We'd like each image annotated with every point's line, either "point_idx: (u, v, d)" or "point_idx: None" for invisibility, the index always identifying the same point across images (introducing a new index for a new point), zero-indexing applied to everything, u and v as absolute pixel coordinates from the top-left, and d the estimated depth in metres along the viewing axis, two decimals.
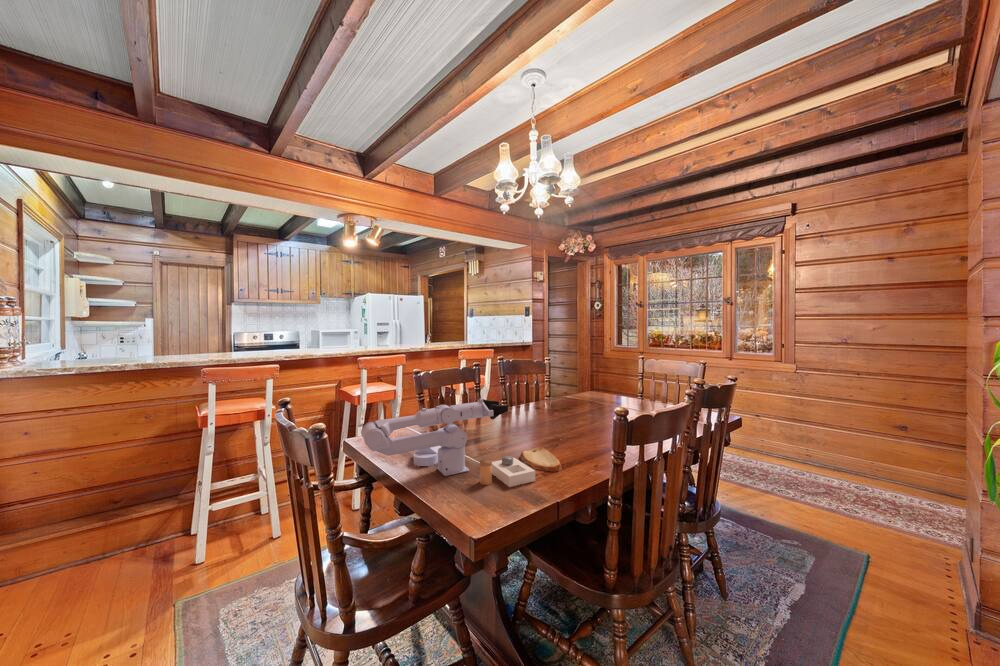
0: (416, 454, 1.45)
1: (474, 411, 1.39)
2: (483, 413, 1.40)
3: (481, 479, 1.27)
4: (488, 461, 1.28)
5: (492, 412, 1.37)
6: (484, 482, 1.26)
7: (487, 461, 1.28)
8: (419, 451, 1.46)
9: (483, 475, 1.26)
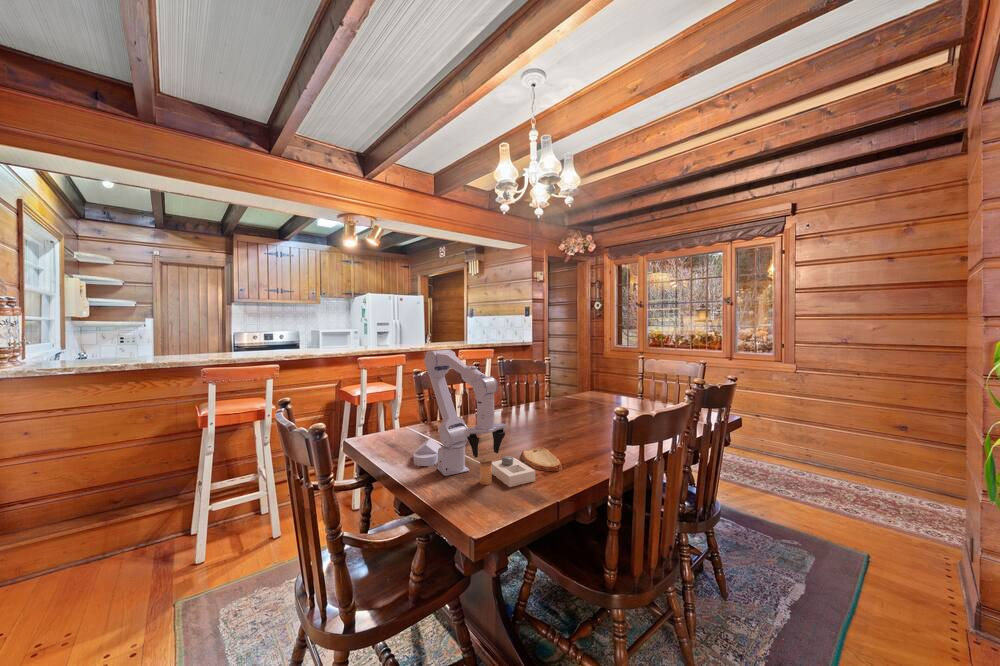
0: (416, 454, 1.45)
1: (478, 417, 1.26)
2: (477, 427, 1.27)
3: (481, 479, 1.27)
4: (488, 461, 1.28)
5: (465, 434, 1.24)
6: (484, 482, 1.26)
7: (487, 461, 1.28)
8: (419, 451, 1.46)
9: (483, 475, 1.26)
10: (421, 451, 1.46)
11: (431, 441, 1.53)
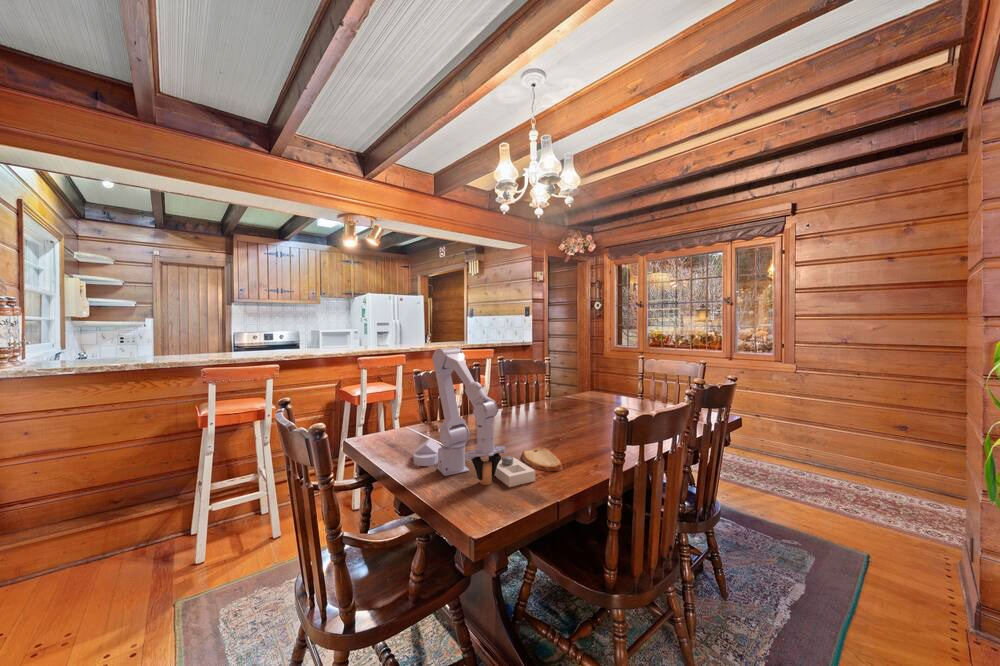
0: (416, 454, 1.45)
1: (478, 441, 1.26)
2: (477, 450, 1.27)
3: None
4: (488, 461, 1.28)
5: (466, 458, 1.24)
6: (484, 482, 1.26)
7: (487, 461, 1.28)
8: (419, 451, 1.46)
9: (483, 475, 1.26)
10: (421, 451, 1.46)
11: (431, 441, 1.53)
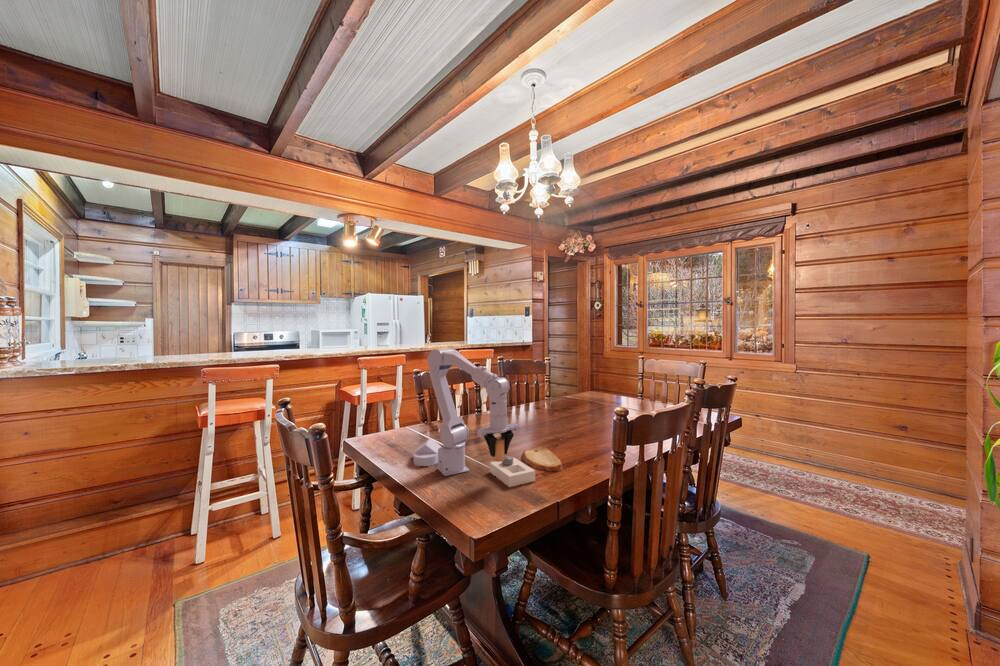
0: (416, 454, 1.45)
1: (491, 417, 1.27)
2: (489, 427, 1.28)
3: None
4: (500, 438, 1.29)
5: (479, 435, 1.25)
6: (497, 459, 1.27)
7: (500, 438, 1.29)
8: (419, 451, 1.46)
9: (495, 452, 1.27)
10: (421, 451, 1.46)
11: (431, 441, 1.53)
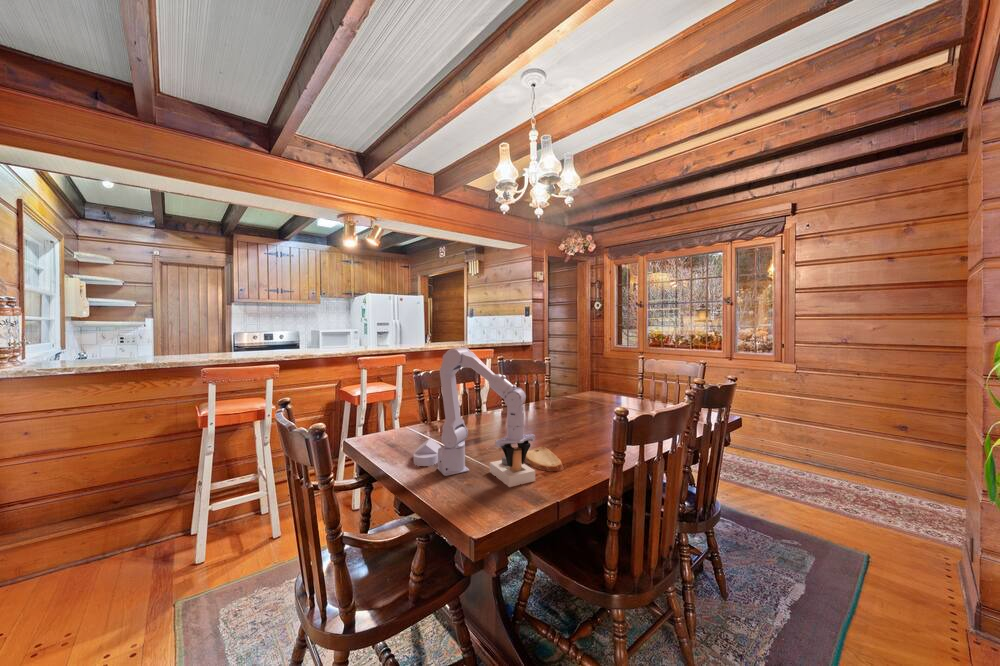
0: (416, 454, 1.45)
1: (508, 428, 1.29)
2: (507, 437, 1.30)
3: (512, 466, 1.29)
4: (518, 448, 1.30)
5: (497, 445, 1.27)
6: (515, 469, 1.29)
7: (517, 448, 1.31)
8: (419, 451, 1.46)
9: (513, 462, 1.29)
10: (421, 451, 1.46)
11: (431, 441, 1.53)
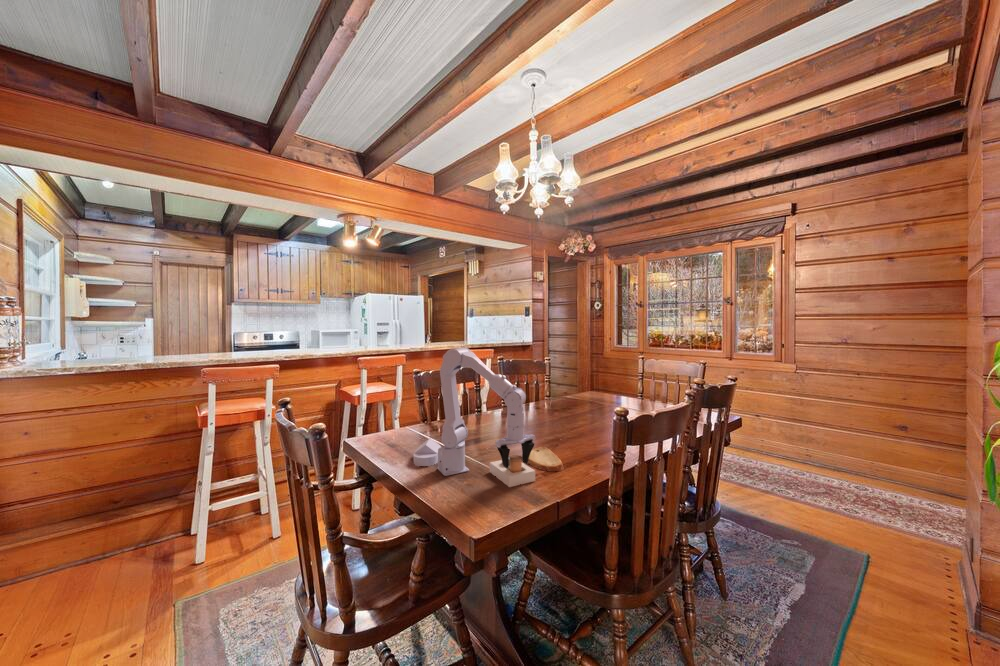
0: (416, 454, 1.45)
1: (508, 428, 1.29)
2: (507, 438, 1.30)
3: None
4: (518, 457, 1.31)
5: (497, 446, 1.27)
6: None
7: (517, 456, 1.31)
8: (419, 451, 1.46)
9: (513, 471, 1.29)
10: (421, 451, 1.46)
11: (431, 441, 1.53)
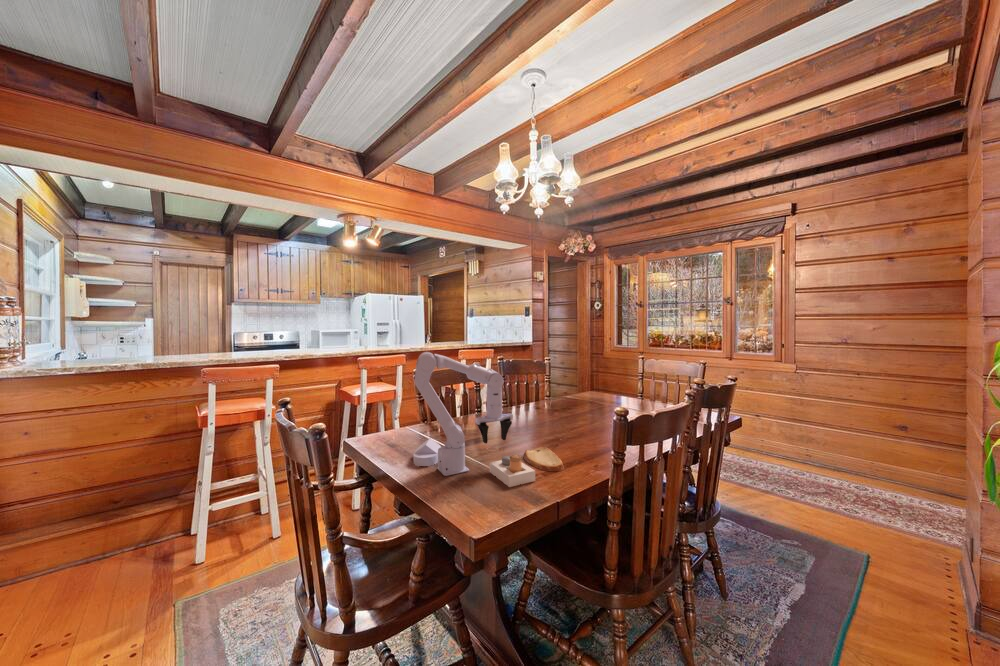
0: (416, 454, 1.45)
1: (488, 407, 1.40)
2: (486, 416, 1.41)
3: None
4: (518, 457, 1.31)
5: (476, 423, 1.38)
6: None
7: (517, 456, 1.31)
8: (419, 451, 1.46)
9: (513, 471, 1.29)
10: (421, 451, 1.46)
11: (431, 441, 1.53)
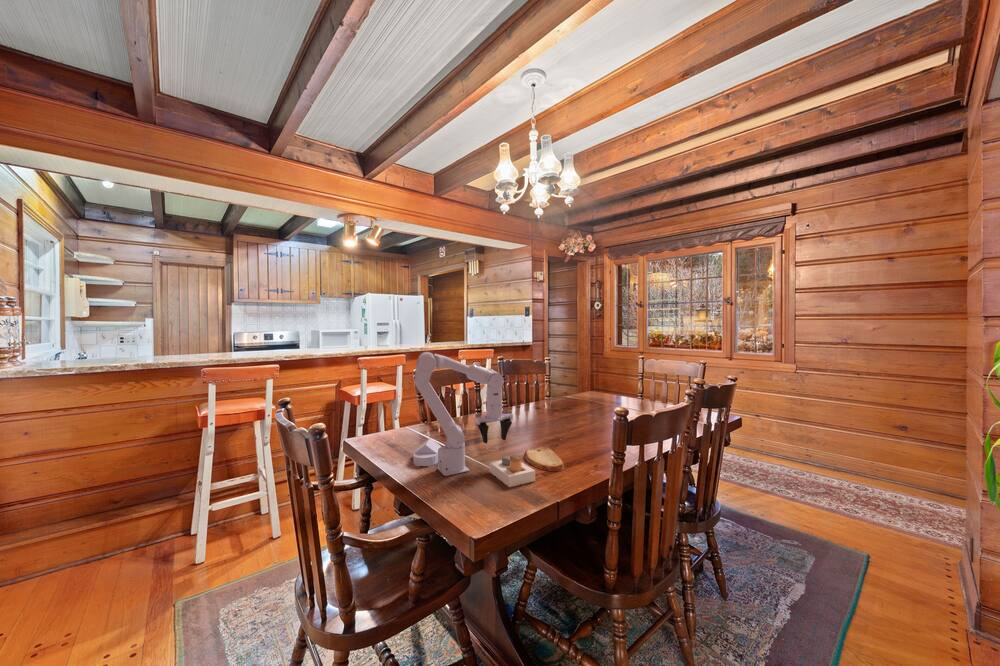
0: (416, 454, 1.45)
1: (488, 407, 1.40)
2: (486, 416, 1.41)
3: None
4: (518, 457, 1.31)
5: (476, 423, 1.38)
6: None
7: (517, 456, 1.31)
8: (419, 451, 1.46)
9: (513, 471, 1.29)
10: (421, 451, 1.46)
11: (431, 441, 1.53)
